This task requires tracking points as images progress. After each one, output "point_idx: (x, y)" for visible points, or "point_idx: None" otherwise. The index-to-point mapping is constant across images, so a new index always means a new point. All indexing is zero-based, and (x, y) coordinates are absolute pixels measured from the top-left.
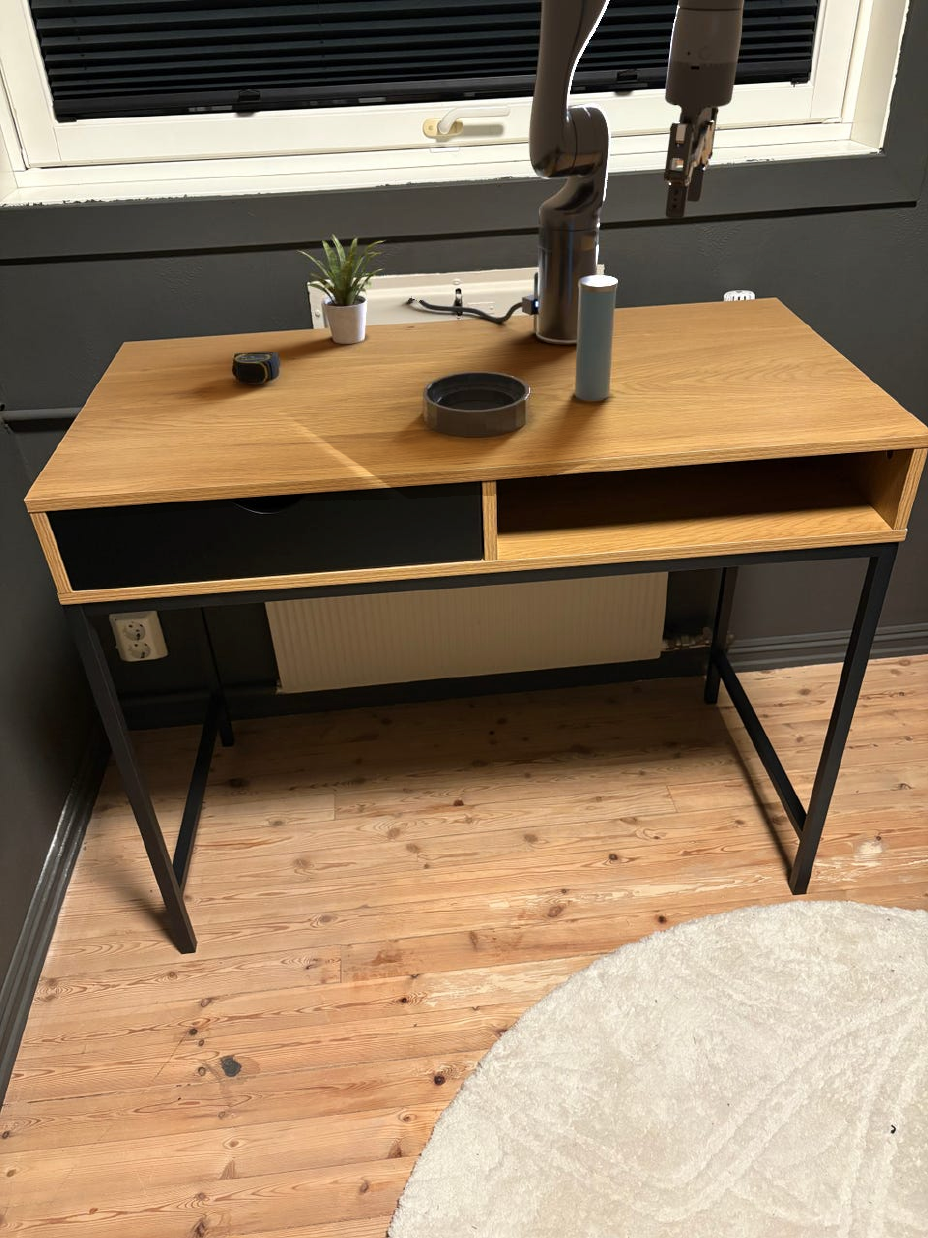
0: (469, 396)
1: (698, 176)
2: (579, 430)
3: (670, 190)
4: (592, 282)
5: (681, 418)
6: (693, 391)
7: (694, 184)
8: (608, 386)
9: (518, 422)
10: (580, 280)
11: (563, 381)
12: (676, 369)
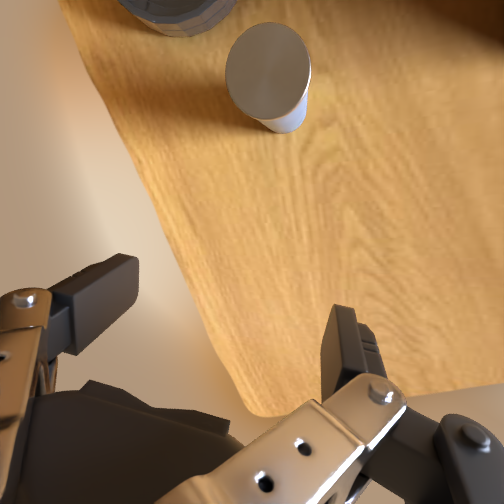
0: None
1: (326, 390)
2: (181, 111)
3: (47, 289)
4: (250, 62)
5: (239, 224)
6: (321, 236)
7: (327, 361)
8: (275, 131)
9: (151, 27)
10: (262, 27)
11: (338, 54)
12: (398, 213)
